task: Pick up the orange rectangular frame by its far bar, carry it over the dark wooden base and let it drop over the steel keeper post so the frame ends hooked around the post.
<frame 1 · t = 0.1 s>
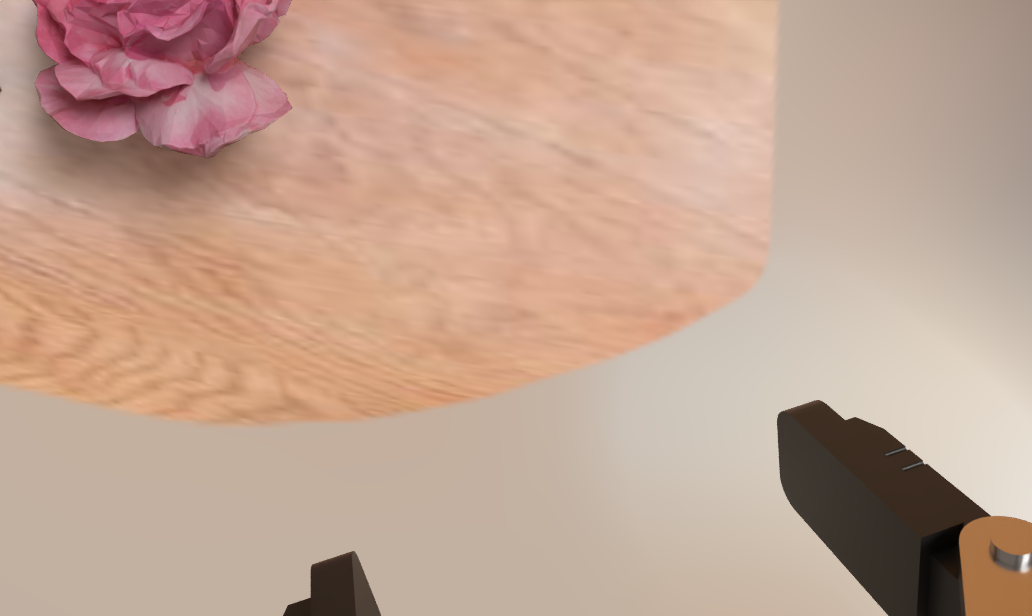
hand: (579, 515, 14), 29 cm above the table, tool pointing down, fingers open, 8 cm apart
flower: (182, 14, 35), on the table
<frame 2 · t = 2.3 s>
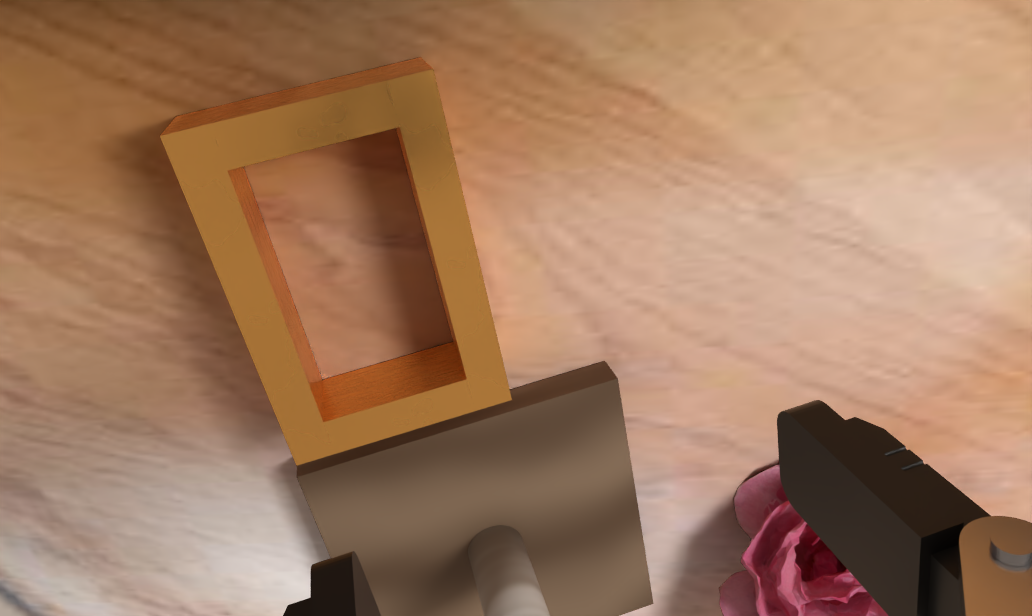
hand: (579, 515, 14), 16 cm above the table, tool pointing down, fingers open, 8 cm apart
keeper base: (488, 524, 34), on the table
flower: (796, 511, 39), on the table
orange rectangular frame: (354, 253, 27), on the table
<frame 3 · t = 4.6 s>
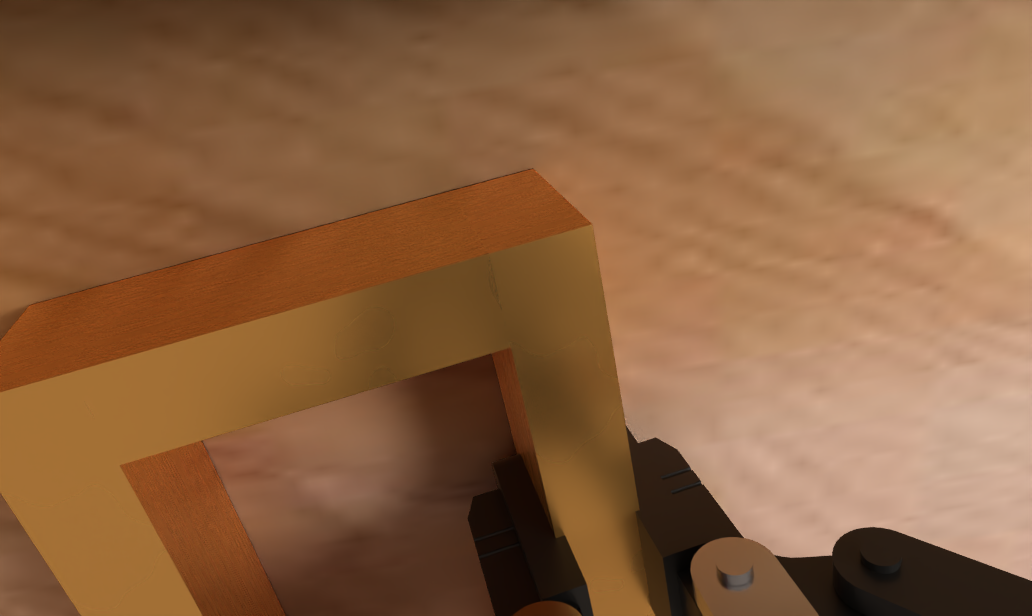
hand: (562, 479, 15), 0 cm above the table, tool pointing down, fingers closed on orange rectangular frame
orange rectangular frame: (394, 519, 15), on the table, touching gripper
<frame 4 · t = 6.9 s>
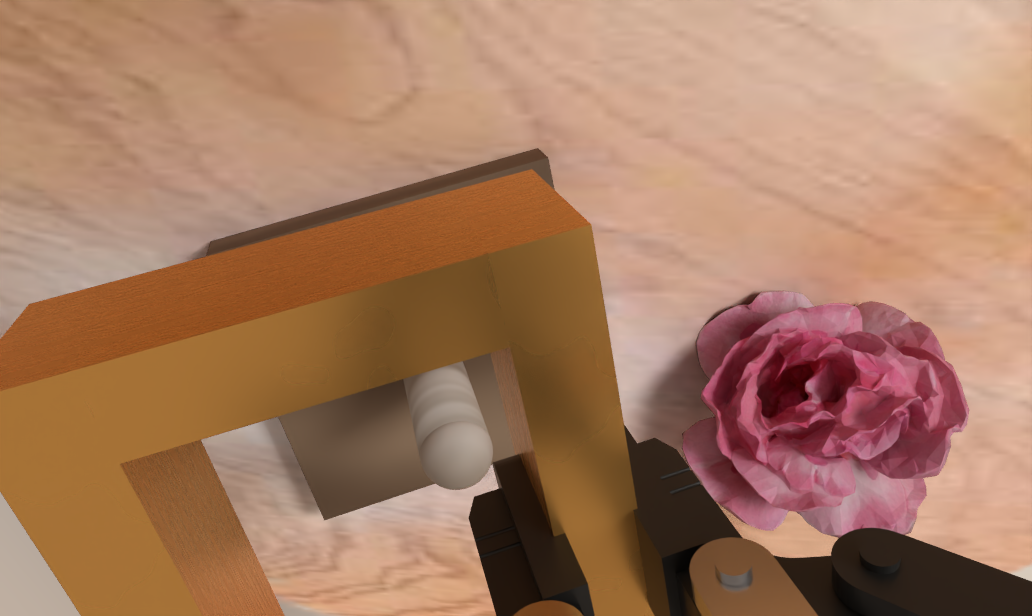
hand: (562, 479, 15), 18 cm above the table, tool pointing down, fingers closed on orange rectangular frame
keeper base: (423, 335, 32), on the table
flower: (763, 361, 38), on the table
orange rectangular frame: (392, 518, 15), point 17 cm above the table, touching gripper
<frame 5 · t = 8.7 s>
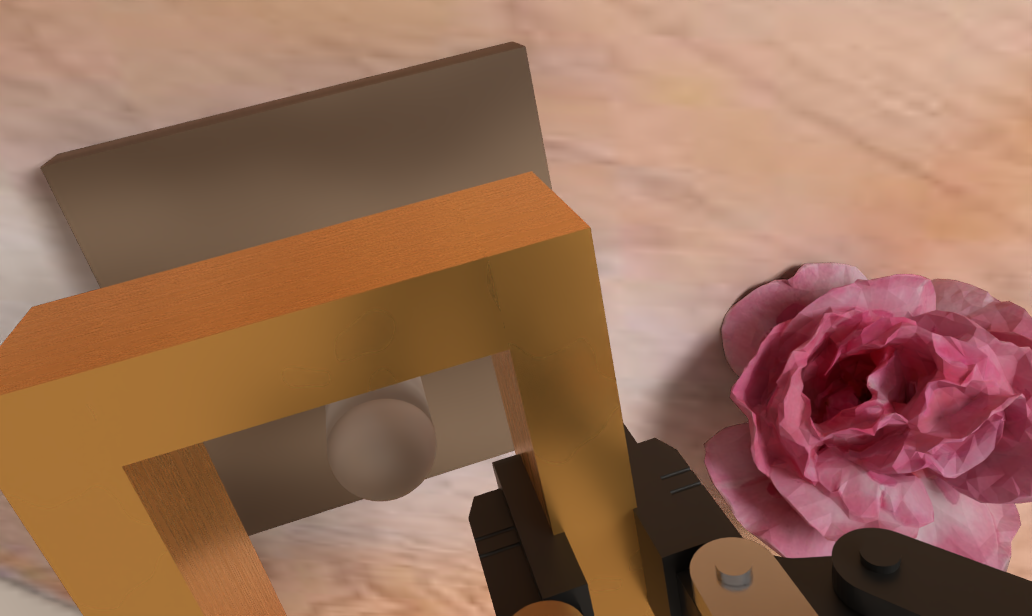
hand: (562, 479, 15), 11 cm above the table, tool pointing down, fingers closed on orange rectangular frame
keeper base: (360, 297, 24), on the table
flower: (803, 354, 30), on the table
orange rectangular frame: (394, 518, 15), point 11 cm above the table, touching gripper
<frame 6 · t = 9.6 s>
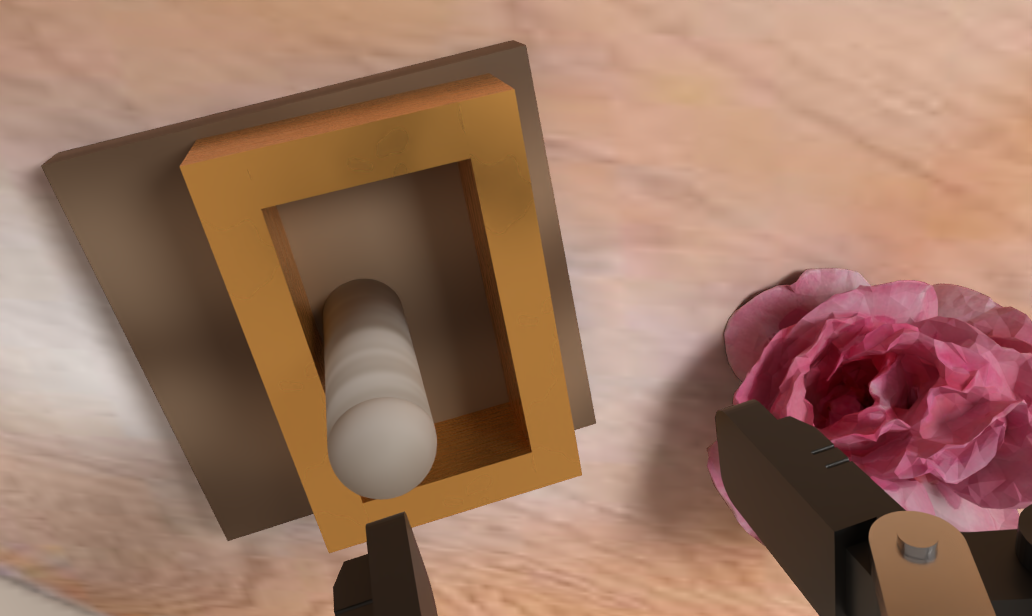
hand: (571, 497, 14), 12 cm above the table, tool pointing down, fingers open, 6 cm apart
keeper base: (360, 296, 25), on the table
flower: (806, 359, 30), on the table
orange rectangular frame: (400, 301, 23), point 1 cm above the table, touching keeper base
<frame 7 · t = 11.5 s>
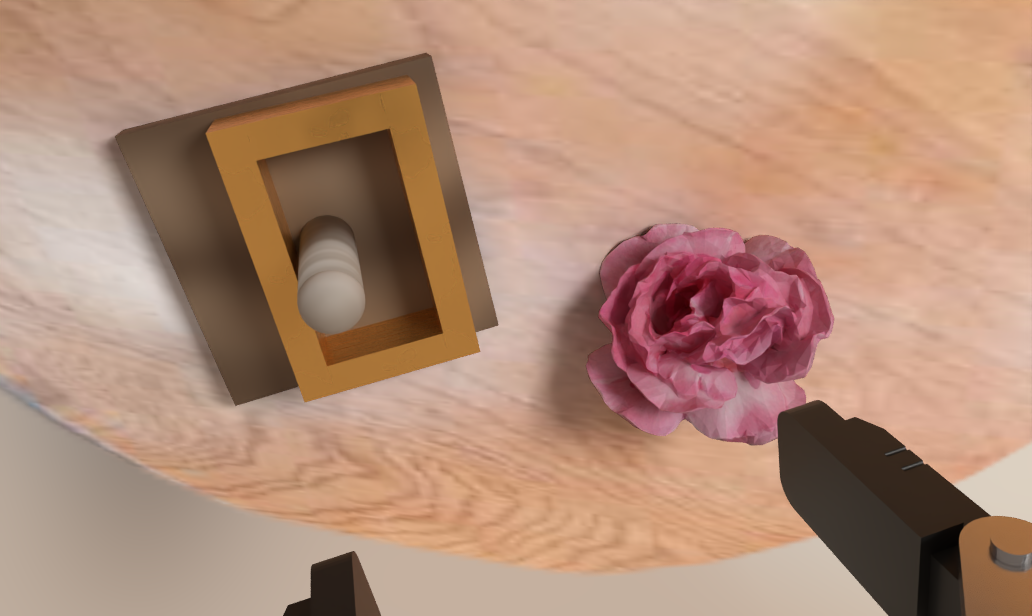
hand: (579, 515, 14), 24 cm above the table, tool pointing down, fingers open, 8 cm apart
keeper base: (326, 231, 35), on the table
flower: (666, 293, 41), on the table
orange rectangular frame: (353, 231, 34), point 1 cm above the table, touching keeper base
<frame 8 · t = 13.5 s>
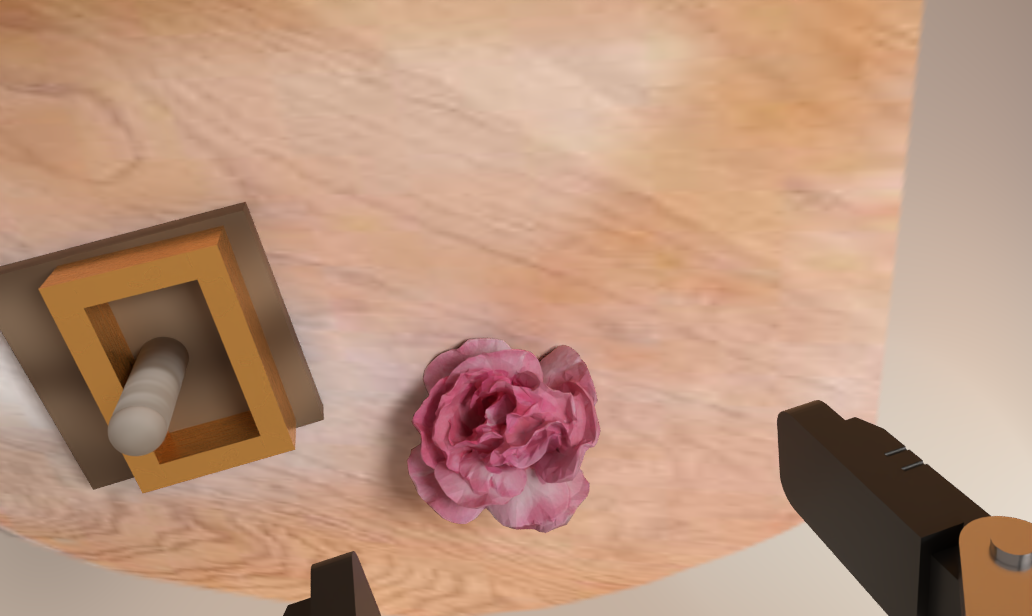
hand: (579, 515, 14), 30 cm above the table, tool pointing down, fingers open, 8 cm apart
keeper base: (169, 344, 42), on the table
flower: (486, 392, 48), on the table
orange rectangular frame: (186, 348, 40), point 1 cm above the table, touching keeper base
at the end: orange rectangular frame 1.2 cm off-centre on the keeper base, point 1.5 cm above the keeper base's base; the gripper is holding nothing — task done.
